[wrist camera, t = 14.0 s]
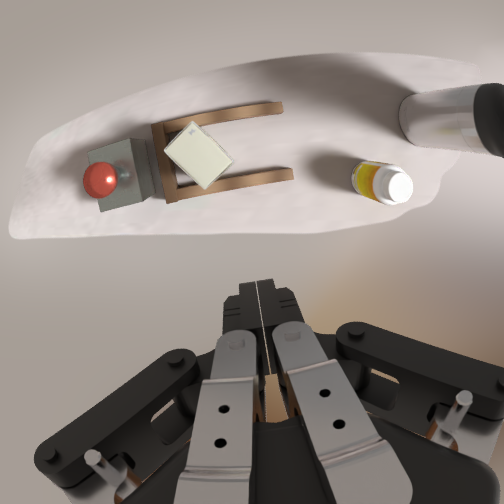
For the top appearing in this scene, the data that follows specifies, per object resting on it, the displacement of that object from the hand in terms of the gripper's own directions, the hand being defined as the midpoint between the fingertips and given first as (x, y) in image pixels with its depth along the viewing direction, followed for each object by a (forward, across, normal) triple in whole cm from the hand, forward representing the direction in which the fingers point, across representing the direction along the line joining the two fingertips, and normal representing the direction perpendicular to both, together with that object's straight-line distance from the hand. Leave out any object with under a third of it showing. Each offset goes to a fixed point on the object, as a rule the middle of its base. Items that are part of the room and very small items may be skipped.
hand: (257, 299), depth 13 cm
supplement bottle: (+31, -19, 0) cm, 37 cm away
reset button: (+22, +15, -6) cm, 27 cm away
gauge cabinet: (+30, +15, -6) cm, 34 cm away
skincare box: (+30, +4, -6) cm, 31 cm away
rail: (+30, +1, -6) cm, 31 cm away
